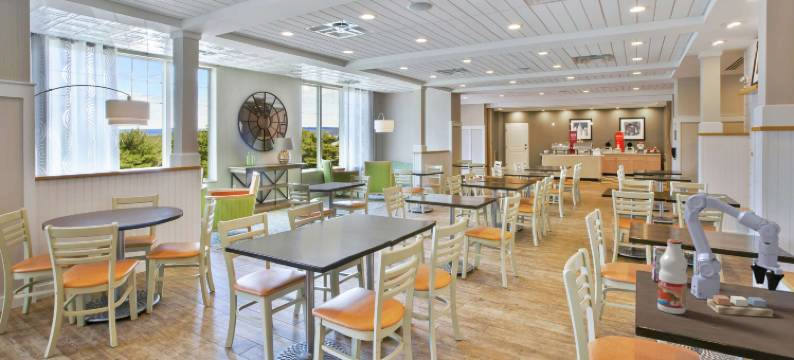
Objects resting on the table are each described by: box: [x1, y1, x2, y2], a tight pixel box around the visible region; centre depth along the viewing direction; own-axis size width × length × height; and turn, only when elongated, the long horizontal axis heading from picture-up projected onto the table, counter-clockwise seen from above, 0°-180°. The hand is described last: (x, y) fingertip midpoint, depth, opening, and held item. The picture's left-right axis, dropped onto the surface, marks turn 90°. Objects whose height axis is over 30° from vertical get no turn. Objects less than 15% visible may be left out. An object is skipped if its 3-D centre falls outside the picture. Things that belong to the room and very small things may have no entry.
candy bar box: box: [651, 245, 684, 283], centre depth 204 cm, size 11×5×16 cm, turn 71°
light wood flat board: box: [706, 299, 774, 318], centre depth 170 cm, size 18×9×2 cm, turn 77°
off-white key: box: [729, 295, 748, 306], centre depth 169 cm, size 4×4×2 cm
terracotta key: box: [713, 294, 731, 305], centre depth 171 cm, size 4×4×2 cm
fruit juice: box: [657, 238, 688, 315], centre depth 170 cm, size 9×9×28 cm
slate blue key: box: [747, 296, 767, 308], centre depth 168 cm, size 4×4×2 cm
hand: (765, 287), depth 171 cm, fingers open, 7 cm apart
